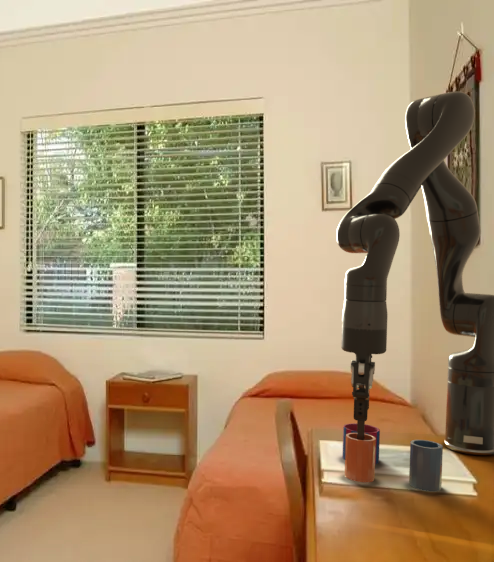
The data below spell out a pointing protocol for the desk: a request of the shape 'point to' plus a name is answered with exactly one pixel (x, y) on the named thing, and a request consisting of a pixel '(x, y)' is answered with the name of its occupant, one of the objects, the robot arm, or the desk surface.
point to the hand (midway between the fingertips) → (361, 414)
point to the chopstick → (360, 430)
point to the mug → (368, 430)
